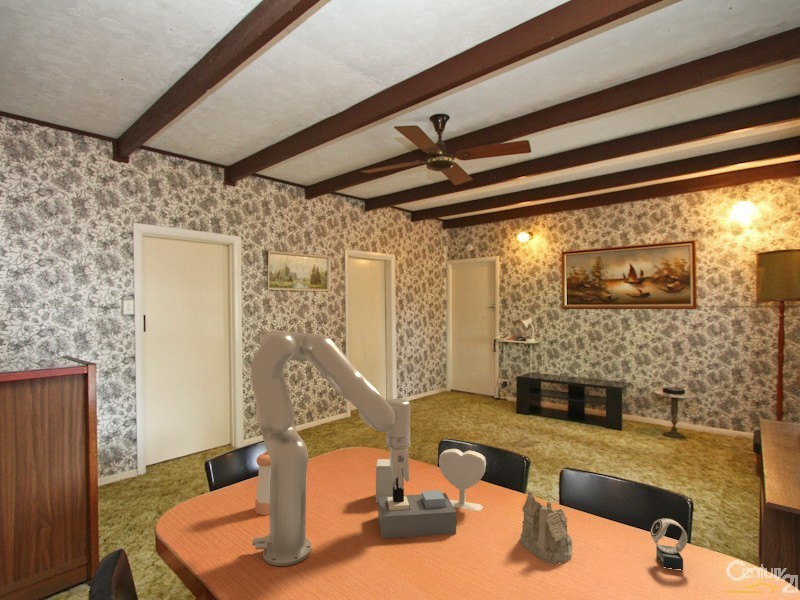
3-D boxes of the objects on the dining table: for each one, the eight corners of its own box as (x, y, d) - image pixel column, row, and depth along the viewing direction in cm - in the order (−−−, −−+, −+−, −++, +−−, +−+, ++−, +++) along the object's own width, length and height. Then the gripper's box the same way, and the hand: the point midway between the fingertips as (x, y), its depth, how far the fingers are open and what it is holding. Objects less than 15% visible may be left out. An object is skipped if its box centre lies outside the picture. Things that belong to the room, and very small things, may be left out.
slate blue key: (425, 516, 125) (425, 499, 125) (421, 507, 131) (421, 491, 131) (445, 515, 125) (445, 498, 126) (440, 506, 131) (440, 490, 132)
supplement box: (396, 503, 141) (396, 466, 142) (375, 503, 141) (375, 466, 142) (397, 494, 149) (397, 458, 149) (376, 494, 149) (376, 458, 149)
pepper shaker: (281, 505, 140) (282, 447, 140) (273, 515, 133) (273, 455, 133) (261, 504, 141) (261, 447, 141) (251, 514, 133) (252, 454, 134)
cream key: (389, 523, 123) (389, 506, 123) (387, 513, 129) (387, 497, 129) (409, 521, 124) (409, 504, 124) (406, 512, 130) (406, 496, 130)
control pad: (381, 538, 119) (381, 516, 119) (378, 516, 132) (378, 496, 132) (456, 533, 122) (456, 511, 122) (445, 512, 135) (445, 492, 135)
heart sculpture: (438, 504, 141) (438, 451, 141) (441, 498, 145) (441, 446, 146) (484, 512, 135) (484, 456, 136) (486, 505, 140) (486, 451, 141)
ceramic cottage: (544, 566, 106) (545, 505, 107) (510, 536, 122) (511, 483, 123) (594, 560, 110) (595, 502, 112) (555, 532, 126) (556, 481, 127)
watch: (648, 555, 111) (647, 513, 112) (682, 559, 109) (681, 517, 110) (655, 567, 106) (654, 523, 106) (691, 572, 104) (690, 528, 104)
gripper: (414, 447, 120) (414, 511, 120) (406, 432, 135) (406, 489, 135) (388, 448, 119) (388, 513, 119) (383, 433, 134) (383, 491, 134)
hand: (398, 500), depth 127 cm, fingers closed
